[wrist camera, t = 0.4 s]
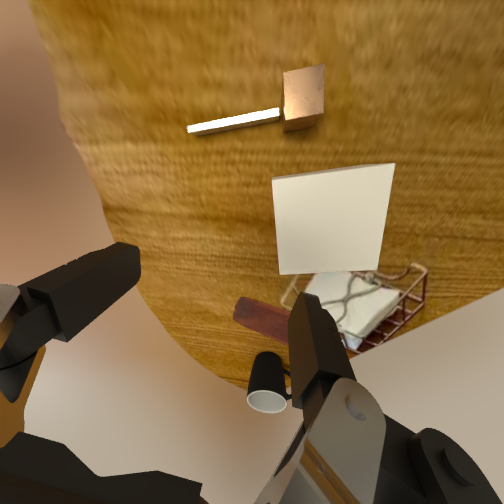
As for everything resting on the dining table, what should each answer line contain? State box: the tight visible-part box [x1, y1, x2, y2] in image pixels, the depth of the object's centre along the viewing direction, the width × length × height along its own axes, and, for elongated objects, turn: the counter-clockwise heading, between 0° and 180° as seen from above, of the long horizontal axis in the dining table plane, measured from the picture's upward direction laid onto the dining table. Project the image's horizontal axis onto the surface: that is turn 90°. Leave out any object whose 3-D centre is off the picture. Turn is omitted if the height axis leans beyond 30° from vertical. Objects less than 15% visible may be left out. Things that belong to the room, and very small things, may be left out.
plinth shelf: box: [272, 163, 395, 275], centre depth 28 cm, size 14×14×8 cm
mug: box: [247, 352, 292, 413], centre depth 45 cm, size 12×9×10 cm
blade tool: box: [187, 63, 325, 136], centre depth 23 cm, size 18×4×8 cm, turn 98°
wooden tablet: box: [233, 297, 343, 346], centre depth 43 cm, size 27×10×2 cm, turn 67°
